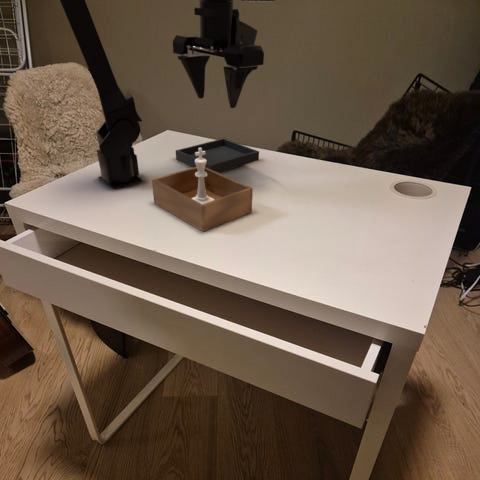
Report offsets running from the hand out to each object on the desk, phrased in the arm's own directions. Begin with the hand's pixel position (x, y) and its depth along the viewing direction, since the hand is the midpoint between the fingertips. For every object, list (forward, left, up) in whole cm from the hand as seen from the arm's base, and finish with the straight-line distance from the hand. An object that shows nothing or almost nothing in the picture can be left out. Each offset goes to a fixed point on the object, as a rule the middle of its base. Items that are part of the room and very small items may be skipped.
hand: (216, 102), depth 80 cm
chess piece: (-13, -12, -13) cm, 22 cm away
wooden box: (-13, -12, -13) cm, 22 cm away
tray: (+5, +5, -13) cm, 15 cm away
